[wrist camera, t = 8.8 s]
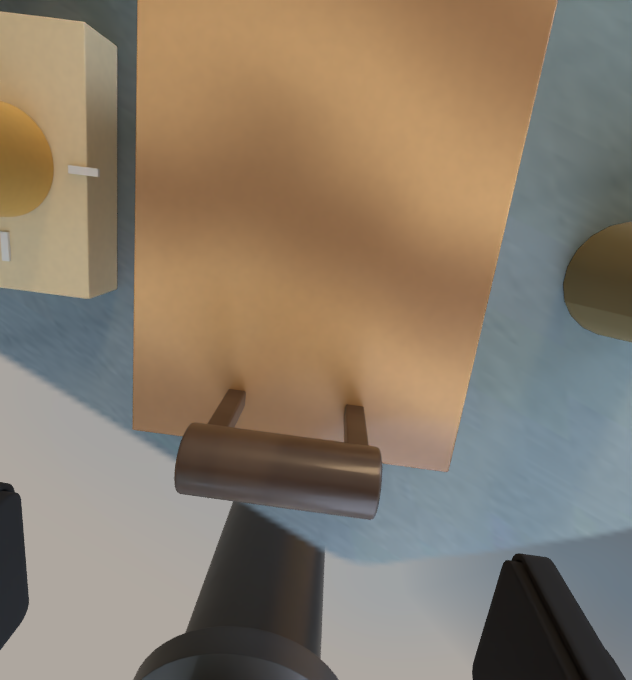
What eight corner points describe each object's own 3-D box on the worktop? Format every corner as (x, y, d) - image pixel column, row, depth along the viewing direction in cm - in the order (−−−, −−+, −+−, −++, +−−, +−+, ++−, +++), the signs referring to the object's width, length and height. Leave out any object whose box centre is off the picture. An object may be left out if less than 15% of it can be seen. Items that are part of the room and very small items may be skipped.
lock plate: (128, 290, 25) (99, 301, 22) (-34, 269, 25) (-85, 277, 22) (130, 47, 22) (96, 21, 19) (-56, 24, 22) (-119, -6, 19)
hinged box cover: (444, 462, 18) (495, 584, 12) (140, 421, 19) (44, 521, 13) (550, -4, 14) (712, -171, 8) (147, -53, 14) (5, -252, 8)
